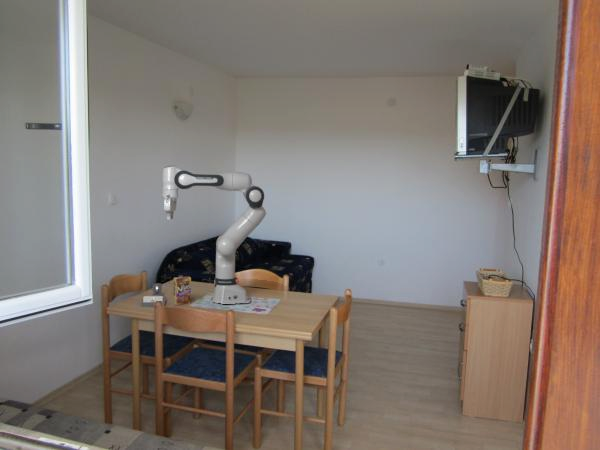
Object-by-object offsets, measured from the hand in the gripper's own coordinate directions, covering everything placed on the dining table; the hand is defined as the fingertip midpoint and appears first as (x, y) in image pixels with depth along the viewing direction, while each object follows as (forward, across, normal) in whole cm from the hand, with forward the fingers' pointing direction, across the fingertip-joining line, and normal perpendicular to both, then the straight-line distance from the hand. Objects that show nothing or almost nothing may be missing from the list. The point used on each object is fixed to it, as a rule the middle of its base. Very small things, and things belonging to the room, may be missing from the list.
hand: (170, 219), depth 259 cm
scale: (+47, -3, +8) cm, 48 cm away
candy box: (+48, -3, -7) cm, 48 cm away
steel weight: (+47, +11, +9) cm, 49 cm away
